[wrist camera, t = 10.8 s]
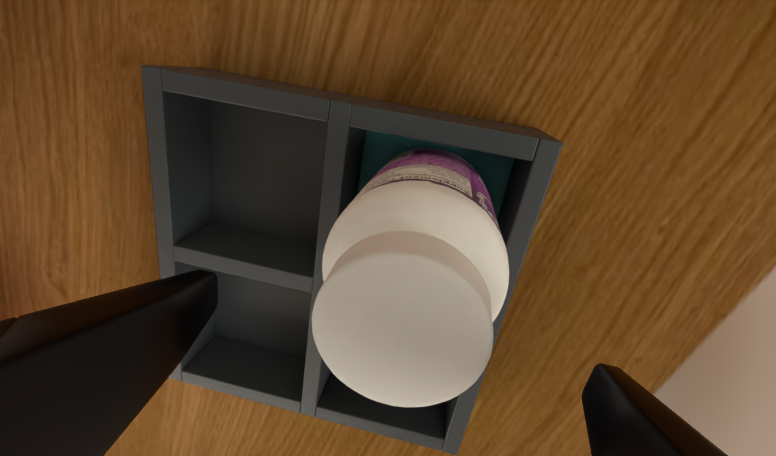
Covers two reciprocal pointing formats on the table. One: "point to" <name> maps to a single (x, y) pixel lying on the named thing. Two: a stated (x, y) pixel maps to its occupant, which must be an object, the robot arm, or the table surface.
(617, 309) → the table surface
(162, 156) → the compartment tray
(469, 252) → the pill bottle
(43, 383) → the robot arm
